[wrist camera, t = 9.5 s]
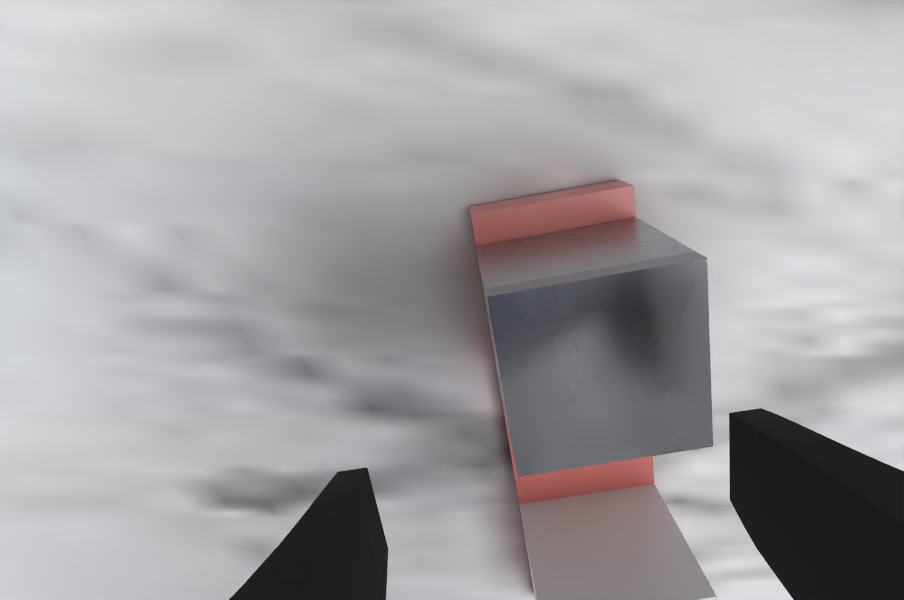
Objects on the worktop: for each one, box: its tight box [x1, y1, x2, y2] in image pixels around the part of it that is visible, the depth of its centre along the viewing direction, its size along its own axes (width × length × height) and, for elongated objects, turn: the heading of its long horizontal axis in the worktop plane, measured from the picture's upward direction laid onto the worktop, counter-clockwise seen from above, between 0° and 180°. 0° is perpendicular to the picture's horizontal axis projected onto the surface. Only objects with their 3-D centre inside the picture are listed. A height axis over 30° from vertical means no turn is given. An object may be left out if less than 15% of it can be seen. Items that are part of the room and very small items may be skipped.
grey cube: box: [476, 217, 713, 477], centre depth 16 cm, size 5×5×5 cm
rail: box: [469, 180, 717, 600], centre depth 18 cm, size 17×5×6 cm, turn 10°
